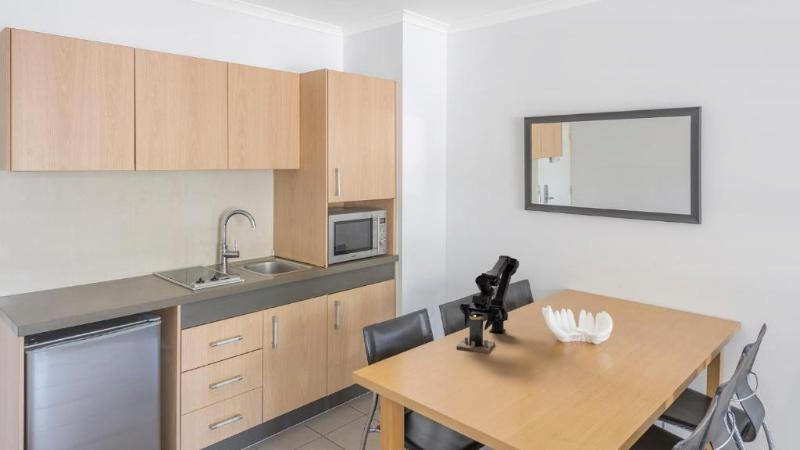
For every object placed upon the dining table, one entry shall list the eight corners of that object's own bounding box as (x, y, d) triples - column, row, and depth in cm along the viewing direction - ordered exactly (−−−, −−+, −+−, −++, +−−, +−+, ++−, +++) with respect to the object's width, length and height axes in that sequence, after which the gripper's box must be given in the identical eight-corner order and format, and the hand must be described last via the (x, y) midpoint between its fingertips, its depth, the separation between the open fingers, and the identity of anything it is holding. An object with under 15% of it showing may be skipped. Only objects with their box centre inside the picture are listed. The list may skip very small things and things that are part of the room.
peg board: (464, 340, 249) (465, 332, 249) (495, 344, 244) (495, 336, 243) (456, 348, 239) (456, 340, 238) (487, 353, 233) (487, 345, 232)
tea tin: (468, 341, 244) (469, 313, 243) (482, 341, 244) (482, 313, 242) (469, 346, 238) (469, 317, 237) (483, 346, 238) (483, 317, 236)
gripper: (461, 285, 246) (450, 315, 238) (500, 290, 236) (490, 321, 228) (468, 298, 254) (457, 327, 246) (506, 304, 244) (496, 334, 236)
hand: (475, 327), depth 239 cm, fingers open, 9 cm apart
